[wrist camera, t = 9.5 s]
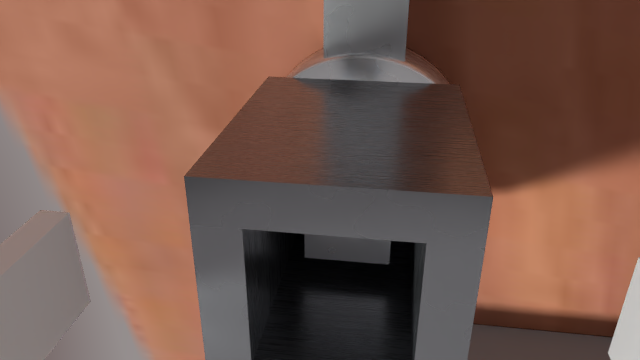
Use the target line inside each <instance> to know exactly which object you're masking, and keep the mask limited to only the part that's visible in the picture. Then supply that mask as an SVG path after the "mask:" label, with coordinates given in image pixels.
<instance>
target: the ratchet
mask: <svg viewBox="0 0 640 360" xmlns="http://www.w3.org/2000/svg"><path fill="white" fill-rule="evenodd" d="M408 11H409V0H324V48H323V49H321V50H319V51H316V52H315V53H313V54H312V55H310V56H308V57H307V58H305V59H304V60H303V61H302V62H301V63H299V64H298V65H297V66H296V67H295V68H294V69H293V70H292V71H291V72H290V73H289V75H288V76H287V77H289V78H312V79H336V80H360V81H384V82H408V83H432V84H449V82H448V81H447V80H446V78H445V77H444V76H443V75H442V73H441V72H440V71H439V70H438V69H437V68H436V67H435V66H434V65H433V64H431V63H430V62H429V61H427V60H426V59H425V58H423V57H422V56H421V55H419V54H417V53H415V52H413V51H411V50H410V49H407V48H406V39H407V25H408ZM304 236H305V258H316V259H328V260H340V261H352V262H364V263H376V264H388V265H389V260H390V245H391V241H390V240H377V239H364V238H351V237H338V236H326V235H313V234H304Z"/></svg>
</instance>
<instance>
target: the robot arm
mask: <svg viewBox="0 0 640 360" xmlns="http://www.w3.org/2000/svg"><path fill="white" fill-rule="evenodd" d="M89 303H90V296H89V293H88V288H87V284H86V280H85V276H84V272H83V268H82V263H81V259H80V255H79V251H78V247H77V243H76V238H75V234H74V230H73V226H72V222H71V218H70V214H69V213H68V212H56V211H43V210H40V211H39V212H38V213H37V214H35V215H34V216H33V217H32V218H31V219H30V220H28V221H27V222H26V223H25V224H24V225H23V226H21V227H20V228H19V229H18V230H17V231H15V232H14V233H13V234H12V235H11V236H9V237H8V238H7V239H6V240H5V241H4V242H2V243H1V244H0V360H45V358H46V357H47V356H48V355H49V353H50V352H51V351H52V350H53V348H54V347H55V346H56V344H57V343H58V342H59V341H60V340H61V338H62V337H63V336H64V334H65V333H66V332H67V330H68V329H69V328H70V327H71V326H72V324H73V323H74V322H75V321H76V319H77V318H78V317H79V315H80V314H81V313H82V312H83V310H84V309H85V308H86V306H87V305H88V304H89ZM608 354H609V357H610V359H611V360H640V257H639V258H638V261H637V264H636V267H635V270H634V273H633V276H632V279H631V283H630V286H629V289H628V292H627V295H626V298H625V301H624V304H623V307H622V311H621V314H620V317H619V320H618V323H617V326H616V329H615V332H614V336H613V339H612V342H611V345H610V348H609V351H608Z"/></svg>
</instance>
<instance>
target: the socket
mask: <svg viewBox="0 0 640 360" xmlns="http://www.w3.org/2000/svg"><path fill="white" fill-rule="evenodd" d="M184 179H185V188H186V196H187V205H188V213H189V222H190V231H191V239H192V248H193V256H194V265H195V274H196V282H197V291H198V299H199V308H200V317H201V325H202V334H203V342H204V351H205V360H467V359H468V352H469V346H470V340H471V334H472V327H473V321H474V315H475V308H476V302H477V296H478V289H479V283H480V277H481V271H482V264H483V258H484V252H485V245H486V239H487V233H488V226H489V220H490V214H491V208H492V201H493V195H492V191H491V188H490V185H489V181H488V178H487V175H486V171H485V168H484V165H483V161H482V158H481V155H480V151H479V148H478V145H477V141H476V138H475V135H474V131H473V128H472V125H471V121H470V118H469V115H468V111H467V108H466V105H465V101H464V98H463V95H462V91H461V88H460V85H456V84H432V83H408V82H384V81H360V80H336V79H312V78H289V77H268V78H267V79H266V80H265V81H264V83H263V84H262V85H261V86H260V87H259V89H258V90H257V91H256V92H255V93H254V94H253V96H252V97H251V98H250V99H249V100H248V102H247V103H246V104H245V105H244V106H243V107H242V109H241V110H240V111H239V112H238V113H237V115H236V116H235V117H234V118H233V119H232V120H231V122H230V123H229V124H228V125H227V126H226V128H225V129H224V130H223V131H222V132H221V133H220V135H219V136H218V137H217V138H216V139H215V141H214V142H213V143H212V144H211V145H210V146H209V148H208V149H207V150H206V151H205V152H204V153H203V155H202V156H201V157H200V158H199V159H198V161H197V162H196V163H195V164H194V165H193V166H192V168H191V169H190V170H189V171H188V172H187V174H186V175H185V176H184ZM304 234H313V235H326V236H338V237H351V238H364V239H377V240H390V241H391V245H390V260H389V265H388V264H376V263H364V262H352V261H340V260H328V259H316V258H305V236H304Z"/></svg>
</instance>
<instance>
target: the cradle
mask: <svg viewBox="0 0 640 360" xmlns="http://www.w3.org/2000/svg"><path fill="white" fill-rule="evenodd" d="M612 339H613V337H602V336H592V335H581V334H571V333H560V332H550V331H540V330H529V329H519V328H508V327H498V326H487V325H477V324H473V327H472V334H471V340H470V346H469V352H468V359H467V360H611V359H610V357H609V354H608V351H609V348H610V345H611V342H612Z"/></svg>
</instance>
